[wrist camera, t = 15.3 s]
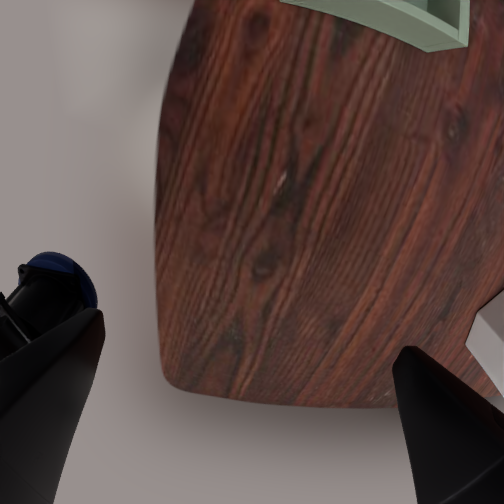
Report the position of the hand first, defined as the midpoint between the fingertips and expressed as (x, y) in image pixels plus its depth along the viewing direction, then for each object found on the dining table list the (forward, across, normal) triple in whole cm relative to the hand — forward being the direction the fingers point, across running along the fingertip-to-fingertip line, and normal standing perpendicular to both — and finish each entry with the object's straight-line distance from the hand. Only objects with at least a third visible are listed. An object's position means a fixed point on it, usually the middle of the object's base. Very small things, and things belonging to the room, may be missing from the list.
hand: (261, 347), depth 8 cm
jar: (+14, -29, +8) cm, 33 cm away
